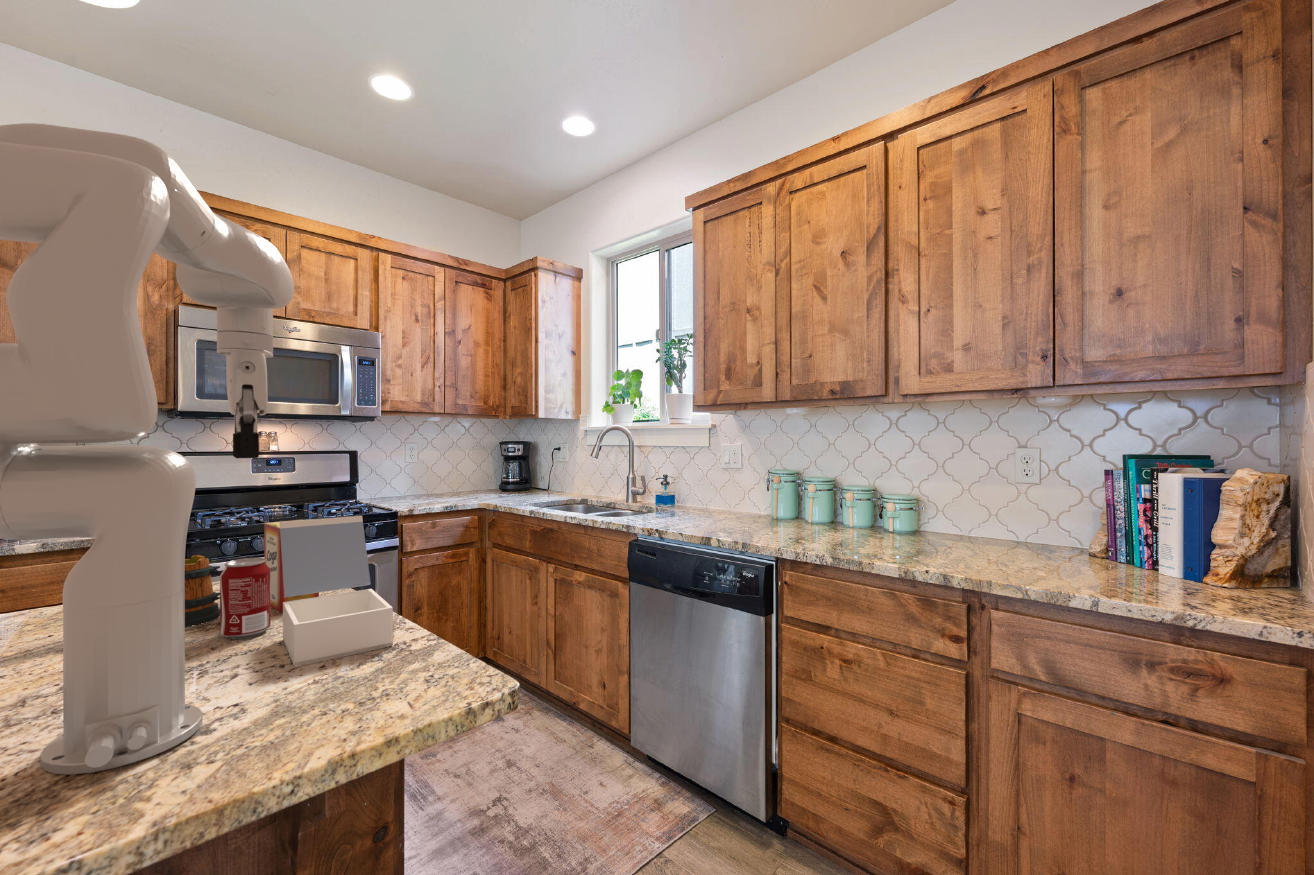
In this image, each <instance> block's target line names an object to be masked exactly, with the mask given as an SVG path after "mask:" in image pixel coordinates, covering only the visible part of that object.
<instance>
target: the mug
mask: <svg viewBox="0 0 1314 875" xmlns="http://www.w3.org/2000/svg"><path fill="white" fill-rule="evenodd" d="M220 568H221V566H220V565H216V566H215V565H214V566H213V565H210V560H209V557H205V556H204V555H200V554H197V555H191V557H190V558H187V559H186V558H185V628H189V627H188V626H190V627H193V626H192V625H196V626H199V624H200V625H202V624H201V623H204V624H207V623H206V622H208V623H210V622H213V621H215V619H216V620H217V618H218V617H219V616H220V607H219V603H218V602H216V601H217V600H220V592H216V591H214V588H213V581H212V574H214V573H217V572H218V571H219V569H220ZM219 618H220V617H219ZM212 620H213V621H212Z"/></svg>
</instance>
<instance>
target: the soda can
mask: <svg viewBox="0 0 1314 875" xmlns="http://www.w3.org/2000/svg"><path fill="white" fill-rule="evenodd" d="M265 562H266V559H264V557H249V558H248V557H246V558H239V559H233V560H230V561H226V562H225V563H224V566H225V567H224V569H222V571H221V573H220V574H219V593H220V595H219V597H220V599H219V608H220V617H219V635H220V636H221V637H224V638H227V639H229V640H243V639H249V638H253V637H257V636H260V635H262V634H263V633H264V632H265V631H267V630H268V629H269V628H271V607H270V568H269V567H268V566H267V565H266V563H265Z"/></svg>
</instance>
